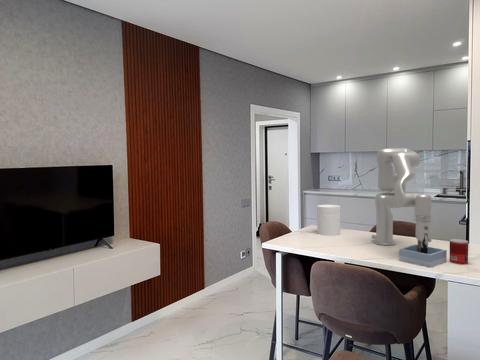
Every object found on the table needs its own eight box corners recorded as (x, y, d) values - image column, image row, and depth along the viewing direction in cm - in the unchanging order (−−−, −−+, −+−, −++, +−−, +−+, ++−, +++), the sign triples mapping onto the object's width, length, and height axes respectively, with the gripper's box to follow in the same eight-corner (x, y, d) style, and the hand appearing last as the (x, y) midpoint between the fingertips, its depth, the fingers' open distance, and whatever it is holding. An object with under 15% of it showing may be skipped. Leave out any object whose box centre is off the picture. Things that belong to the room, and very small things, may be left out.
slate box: (399, 260, 185) (399, 248, 185) (415, 255, 194) (415, 244, 194) (430, 267, 172) (430, 255, 172) (446, 261, 181) (446, 250, 181)
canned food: (469, 264, 175) (469, 242, 175) (450, 263, 178) (451, 241, 177) (466, 260, 182) (466, 239, 182) (448, 259, 185) (448, 238, 185)
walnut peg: (417, 258, 183) (417, 239, 183) (420, 257, 185) (420, 238, 185) (424, 259, 181) (424, 240, 180) (427, 258, 183) (427, 239, 182)
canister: (313, 234, 256) (313, 206, 255) (323, 230, 269) (322, 204, 268) (335, 236, 246) (334, 207, 245) (343, 232, 259) (343, 205, 258)
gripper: (436, 221, 173) (436, 258, 174) (425, 216, 190) (424, 250, 190) (420, 221, 174) (419, 258, 175) (410, 216, 191) (409, 250, 192)
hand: (422, 253), depth 183 cm, fingers open, 3 cm apart
